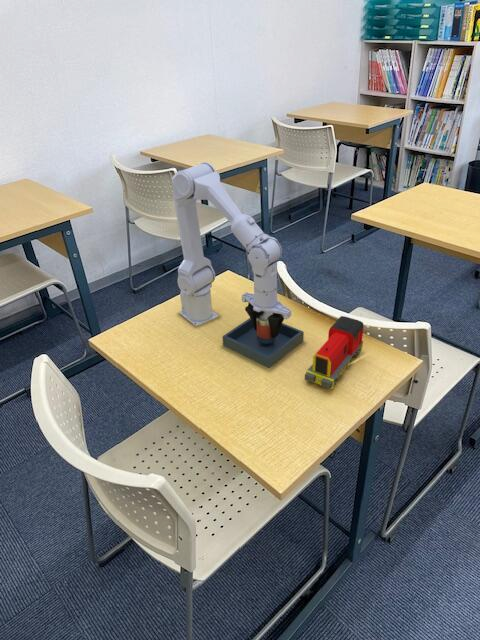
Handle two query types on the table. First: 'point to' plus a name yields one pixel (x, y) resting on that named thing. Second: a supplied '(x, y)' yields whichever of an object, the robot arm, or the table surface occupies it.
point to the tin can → (264, 328)
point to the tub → (265, 354)
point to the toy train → (336, 352)
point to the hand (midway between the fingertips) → (266, 332)
